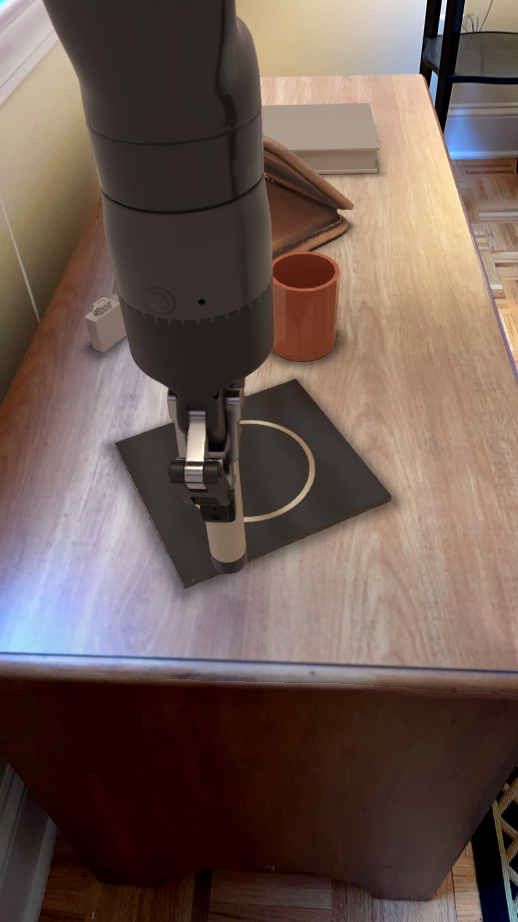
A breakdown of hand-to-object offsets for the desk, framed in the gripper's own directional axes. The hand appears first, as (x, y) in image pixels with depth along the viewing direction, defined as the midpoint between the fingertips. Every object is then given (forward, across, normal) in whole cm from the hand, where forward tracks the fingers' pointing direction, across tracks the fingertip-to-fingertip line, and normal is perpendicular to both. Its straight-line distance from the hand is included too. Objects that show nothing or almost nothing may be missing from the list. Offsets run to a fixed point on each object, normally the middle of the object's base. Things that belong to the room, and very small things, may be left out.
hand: (222, 497), depth 45 cm
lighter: (+13, +34, +17) cm, 41 cm away
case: (+13, +58, +3) cm, 60 cm away
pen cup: (+13, +34, -4) cm, 37 cm away
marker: (+7, 0, 0) cm, 7 cm away
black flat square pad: (+13, +14, 0) cm, 19 cm away
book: (+13, +84, -2) cm, 85 cm away
